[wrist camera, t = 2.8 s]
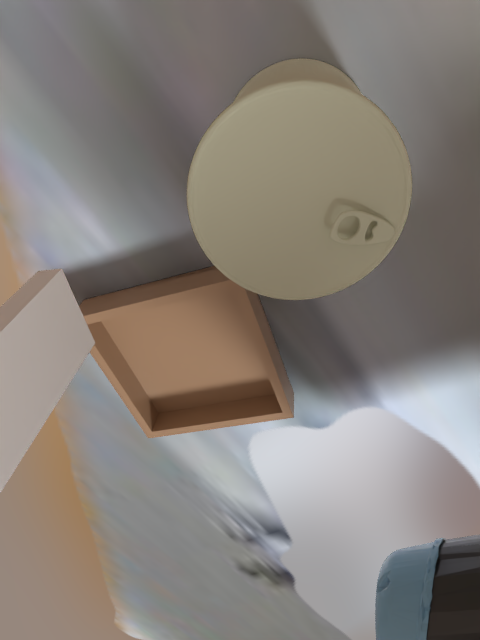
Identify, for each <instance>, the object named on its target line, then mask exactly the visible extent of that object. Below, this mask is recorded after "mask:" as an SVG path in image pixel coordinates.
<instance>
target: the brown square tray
mask: <svg viewBox="0 0 480 640" xmlns="http://www.w3.org/2000/svg"><path fill="white" fill-rule="evenodd" d="M79 308H80V310H81V312H82V314H83V317H84V319H85V321H86V323H87V325H88V328H89V330H90V332H91V334H92V337H93V339H94V341H95V344H94V346H93V347H92V349H91V350H90V353H91V355H92V356H93V358H94V359H95V361H96V362H97V363H98V365H99V366H100V368H101V369H102V371H103V372H104V374H105V375H106V377H107V378H108V380H109V381H110V383H111V384H112V386H113V387H114V389H115V390H116V391H117V393H118V394H119V396H120V397H121V399H122V400H123V402H124V403H125V405H126V406H127V408H128V409H129V411H130V412H131V414H132V415H133V416H134V418H135V419H136V421H137V422H138V424H139V425H140V427H141V428H142V430H143V431H144V433H145V434H146V436H147V437H148V438H154V437H161V436H168V435H175V434H182V433H189V432H196V431H203V430H210V429H216V428H223V427H230V426H237V425H244V424H251V423H258V422H265V421H272V420H279V419H286V418H293V417H294V392H293V389H292V386H291V384H290V381H289V378H288V375H287V373H286V370H285V367H284V364H283V362H282V359H281V356H280V353H279V351H278V348H277V345H276V342H275V340H274V337H273V334H272V331H271V329H270V326H269V323H268V320H267V318H266V315H265V312H264V309H263V307H262V304H261V301H260V298H259V296H258V294H257V293H254V292H252V291H249V290H247V289H245V288H243V287H241V286H239V285H238V284H236V283H235V282H233V281H232V280H230V279H229V278H227V277H226V276H225V275H224V274H223V273H221V272H220V271H219V270H218V269H217V268H216V267H215V266H212V267H208V268H204V269H200V270H196V271H193V272H189V273H185V274H181V275H177V276H173V277H170V278H166V279H162V280H158V281H154V282H150V283H147V284H143V285H139V286H135V287H131V288H127V289H124V290H120V291H116V292H112V293H108V294H104V295H101V296H97V297H93V298H89V299H85V300H83V302H82V303H81V304H80V305H79Z"/></svg>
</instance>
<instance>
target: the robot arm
mask: <svg viewBox="0 0 480 640" xmlns="http://www.w3.org/2000/svg"><path fill="white" fill-rule="evenodd" d="M94 344H95V341H94V339H93V337H92V334H91V332H90V330H89V328H88V325H87V323H86V321H85V319H84V317H83V314H82V312H81V310H80V308H79V305H78V303H77V301H76V299H75V297H74V294H73V292H72V290H71V288H70V286H69V283H68V281H67V279H66V277H65V274H64V272H63V270H62V269H54V270H43V271H38V272H37V273H36V274H35V275H34V276H33V277H32V278H30V279H29V280H28V281H27V282H26V283H25V284H24V285H23V286H22V287H21V288H20V289H19V290H18V291H17V292H16V293H15V294H14V295H13V296H12V297H10V298H9V299H8V300H7V301H6V302H5V303H4V304H3V305H2V306H1V307H0V492H1V491H2V489H3V488H4V486H5V484H6V483H7V481H8V480H9V478H10V477H11V475H12V473H13V472H14V470H15V468H16V467H17V466H18V464H19V462H20V461H21V459H22V458H23V456H24V455H25V453H26V451H27V450H28V448H29V447H30V445H31V443H32V442H33V440H34V439H35V437H36V435H37V434H38V432H39V431H40V429H41V428H42V426H43V424H44V423H45V421H46V420H47V418H48V417H49V415H50V414H51V412H52V410H53V409H54V407H55V406H56V404H57V403H58V401H59V399H60V398H61V396H62V395H63V393H64V391H65V390H66V388H67V387H68V385H69V384H70V382H71V380H72V379H73V377H74V376H75V374H76V373H77V371H78V369H79V368H80V366H81V365H82V363H83V361H84V360H85V358H86V357H87V355H88V354H89V352H90V350H91V349H92V347H93V346H94ZM376 592H377V593H376V610H375V615H376V616H375V619H376V620H375V621H376V640H480V535H474V536H467V537H462V538H454V539H447V540H446V539H445V538H440V539H436V540H435V542H432V543H427V544H423V545H418V546H413V547H408V548H403V549H399V550H396V551H394V552H393V553H391V554H390V555H389V556H388V557H387V558H386V560H385V561H384V563H383V565H382V567H381V570H380V573H379V577H378V582H377V591H376Z"/></svg>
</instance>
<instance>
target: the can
mask: <svg viewBox="0 0 480 640" xmlns="http://www.w3.org/2000/svg"><path fill="white" fill-rule="evenodd" d="M411 196H412V175H411V166H410V162H409V157H408V154H407V151H406V148H405V145H404V143H403V141H402V139H401V137H400V134H399V133H398V131H397V129H396V128H395V126H394V125H393V123H392V122H391V121H390V119H389V118H388V117H387V116H386V115H385V113H384V112H383V111H382V110H381V109H380V108H379V107H378V106H377V105H375V104H374V103H373V102H371V101H370V100H369V99H368V98H366V97H365V96H363V95H362V94H361V92H360V90H359V89H358V88H357V86H356V85H355V84H354V82H353V81H352V80H351V79H350V78H349V77H348V76H347V75H346V74H344V73H343V72H342V71H340V70H339V69H337V68H336V67H334V66H332V65H329V64H327V63H325V62H322V61H318V60H314V59H304V58H301V59H290V60H285V61H281V62H278V63H275V64H273V65H271V66H269V67H267V68H265V69H263V70H262V71H260V72H259V73H257V74H256V75H255V76H254V77H252V78H251V79H250V80H249V81H248V82H247V83H246V84H245V85H244V87H243V88H242V89H241V90H240V92H239V93H238V95H237V96H236V98H235V100H234V101H233V103H232V104H231V105H229V106H228V107H227V108H226V109H225V110H224V111H223V112H222V113H221V114H220V115H219V116H218V117H217V118H216V119H215V120H214V121H213V122H212V124H211V125H210V126H209V128H208V129H207V130H206V132H205V134H204V135H203V137H202V139H201V140H200V142H199V144H198V147H197V149H196V151H195V153H194V156H193V159H192V162H191V165H190V170H189V174H188V181H187V208H188V214H189V218H190V222H191V226H192V229H193V232H194V234H195V237H196V239H197V241H198V243H199V245H200V247H201V248H202V250H203V251H204V253H205V255H206V256H207V257H208V258H209V260H210V261H211V262H212V263H213V265H214V266H215V267H216V268H217V269H218V270H219V271H220V272H221V273H223V274H224V275H225V276H226V277H227V278H229V279H230V280H232V281H233V282H235V283H236V284H238V285H239V286H241V287H243V288H245V289H247V290H249V291H252V292H254V293H257V294H260V295H263V296H267V297H271V298H275V299H283V300H306V299H314V298H319V297H323V296H327V295H330V294H333V293H336V292H339V291H341V290H343V289H345V288H347V287H349V286H351V285H353V284H355V283H356V282H358V281H359V280H361V279H363V278H364V277H365V276H367V275H368V274H369V273H370V272H371V271H372V270H374V269H375V268H376V267H377V266H378V265H379V264H380V263H381V262H382V261H383V260H384V258H385V257H386V256H387V255H388V253H389V252H390V251H391V249H392V248H393V246H394V245H395V243H396V242H397V240H398V238H399V236H400V234H401V232H402V230H403V228H404V225H405V222H406V220H407V216H408V213H409V209H410V203H411Z"/></svg>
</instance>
